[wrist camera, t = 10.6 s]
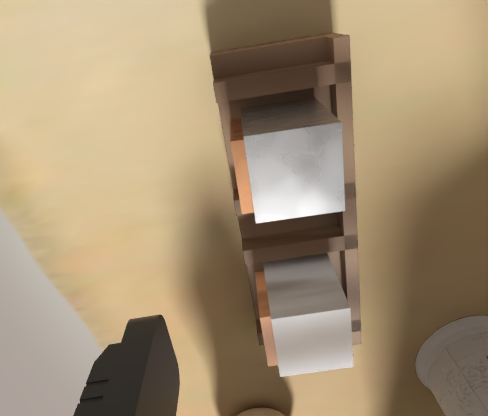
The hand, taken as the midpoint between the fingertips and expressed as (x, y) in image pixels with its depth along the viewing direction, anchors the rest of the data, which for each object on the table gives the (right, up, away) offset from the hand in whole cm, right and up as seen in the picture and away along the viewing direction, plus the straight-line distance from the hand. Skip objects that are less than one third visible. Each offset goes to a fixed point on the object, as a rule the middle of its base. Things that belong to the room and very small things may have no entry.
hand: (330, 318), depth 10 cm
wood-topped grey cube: (0, +7, +14) cm, 15 cm away
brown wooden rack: (+1, +3, +18) cm, 18 cm away
